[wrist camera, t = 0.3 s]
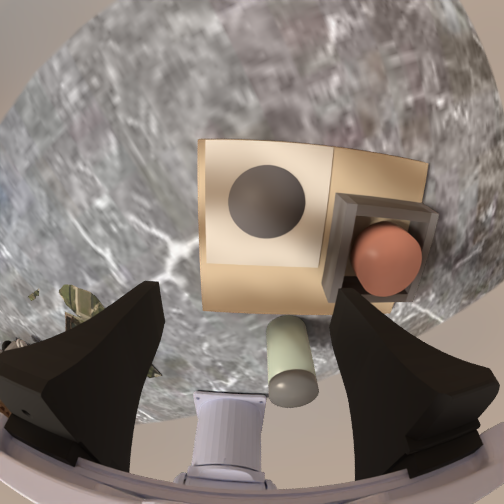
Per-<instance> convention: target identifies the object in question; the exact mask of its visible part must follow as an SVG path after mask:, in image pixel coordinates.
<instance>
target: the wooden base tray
mask: <svg viewBox="0 0 504 504" xmlns="http://www.w3.org/2000/svg"><path fill="white" fill-rule="evenodd" d="M427 170H428V163H425V162H421V161H417V160H412V159H408V158H403V157H398V156H392V155H387V154H381V153H376V152H370V151H363V150H357V149H350V148H342V147H335V146H326V145H317V144H308V143H297V142H284V141H269V140H247V139H198V221H199V250H200V272H201V290H202V305H203V311H214V312H232V313H255V314H293V315H333V311H334V306H335V302H336V298H337V293H338V289H339V288H353V289H354V290H356V291H357V292H358V293H359V294H361V295H362V296H363V297H364V298H365V299H367V300H368V301H369V302H370V303H371V304H373V305H374V306H375V307H376V308H377V309H379V310H380V311H381V312H382V313H383V314H386V313H390V312H391V310H392V307H393V304H394V302H413V300H414V297H415V294H416V291H417V289H418V286H419V283H420V280H421V277H422V274H423V271H424V268H425V265H426V261H427V258H428V255H429V251H430V248H431V244H432V241H433V237H434V233H435V230H436V226H437V222H438V217H439V214H438V213H437V212H435V211H434V210H432V209H431V208H429V207H427V206H426V205H424V204H423V203H422V198H423V193H424V188H425V182H426V176H427ZM380 221H390V222H394V223H396V224H398V225H399V226H401V227H402V228H403V229H404V230H405V231H406V232H408V233H409V234H410V235H411V236H412V237H413V238H414V239H415V240H416V241H417V242H418V244H419V246H420V248H421V252H422V261H421V266H420V269H419V272H418V274H417V276H416V277H415V279H414V280H413V281H412V283H411V284H410V285H409V286H407V287H406V288H405V289H404V290H402V291H401V292H399V293H397V294H394V295H391V296H386V297H379V296H375V295H372V294H370V293H369V292H367V291H366V290H365V289H364V287H363V286H362V284H361V283H360V281H359V279H358V277H357V276H356V274H355V272H354V270H353V268H352V266H351V262H350V252H351V248H352V245H353V243H354V241H355V239H356V238H357V236H358V235H359V234H360V233H361V232H362V231H363V230H364V229H365V228H366V227H368V226H369V225H371V224H374V223H376V222H380Z"/></svg>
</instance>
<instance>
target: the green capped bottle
mask: <svg viewBox="0 0 504 504" xmlns="http://www.w3.org/2000/svg"><path fill="white" fill-rule="evenodd" d="M266 338H267V362H268V387H269V399H270V401H271V402H272V403H273V404H275V405H277V406H280V407H285V408H293V407H300V406H303V405H306V404H308V403H310V402H312V401H313V400H314V399H315V398H316V397H317V396H318V393H319V389H318V384H317V379H316V374H315V369H314V364H313V359H312V354H311V349H310V344H309V339H308V334H307V330H306V325H305V323H304V322H303V321H302V320H301V319H300V318H298V317H296V316H291V315H285V316H280V317H277V318H275V319H274V320H272V321H271V322H270V323H269V324H268V326H267V329H266Z"/></svg>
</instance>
